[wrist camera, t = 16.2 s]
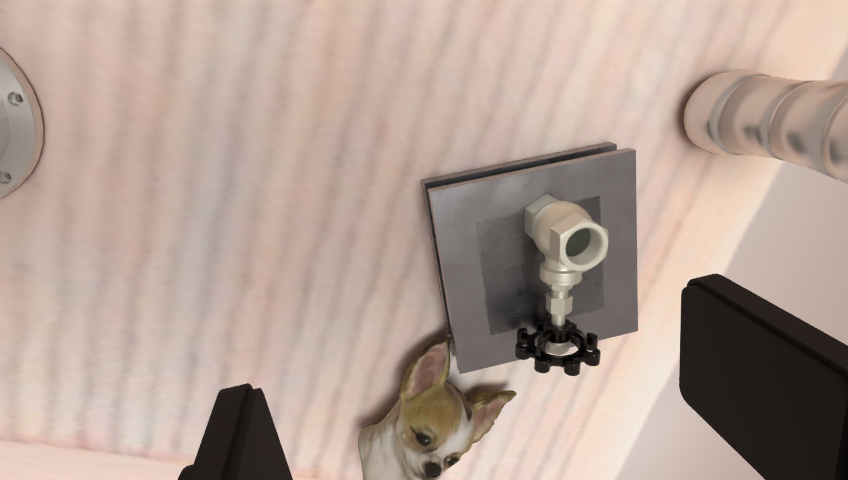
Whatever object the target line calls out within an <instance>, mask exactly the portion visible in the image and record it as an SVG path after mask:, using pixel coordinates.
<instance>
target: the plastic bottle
mask: <svg viewBox="0 0 848 480" xmlns="http://www.w3.org/2000/svg"><path fill="white" fill-rule="evenodd" d="M684 126H685V130H686V133H687V136H688V137H689V139H690V140H691V141H692V142H693V143H694V144H695V145H697V146H698V147H700V148H702V149H704V150H706V151H708V152H710V153H714V154H721V155H753V156H762V157H771V158H776V159H780V160H784V161H787V162H790V163H794V164H798V165H802V166H805V167H808V168H810V169H812V170H815V171H817V172H820V173H822V174H825V175H827V176H830V177H832V178H834V179H837V180H840V181H842V182H845V183H848V79H846V80H825V81H800V80H793V79H786V78H778V77H772V76H769V75H766V74H763V73H759V72H755V71H749V70H734V71H729V72H724V73H720V74H717V75H714V76H712V77H710V78H709V79H707V80H706V81H704V82H703V83H702V84H701V85H700V86H699V87H698V88H697V89H696V90H695V91H694V93H693V94H692V95H691V97H690V98H689V100H688V102H687V105H686V107H685V111H684Z"/></svg>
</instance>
